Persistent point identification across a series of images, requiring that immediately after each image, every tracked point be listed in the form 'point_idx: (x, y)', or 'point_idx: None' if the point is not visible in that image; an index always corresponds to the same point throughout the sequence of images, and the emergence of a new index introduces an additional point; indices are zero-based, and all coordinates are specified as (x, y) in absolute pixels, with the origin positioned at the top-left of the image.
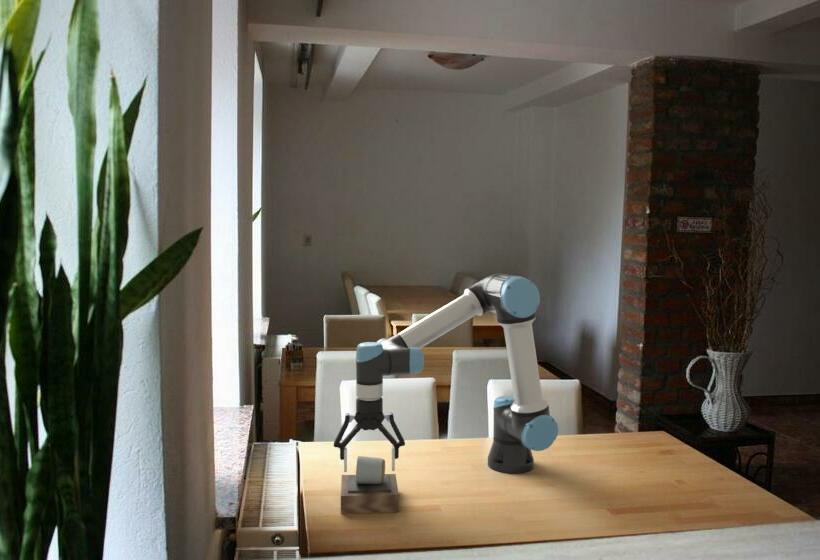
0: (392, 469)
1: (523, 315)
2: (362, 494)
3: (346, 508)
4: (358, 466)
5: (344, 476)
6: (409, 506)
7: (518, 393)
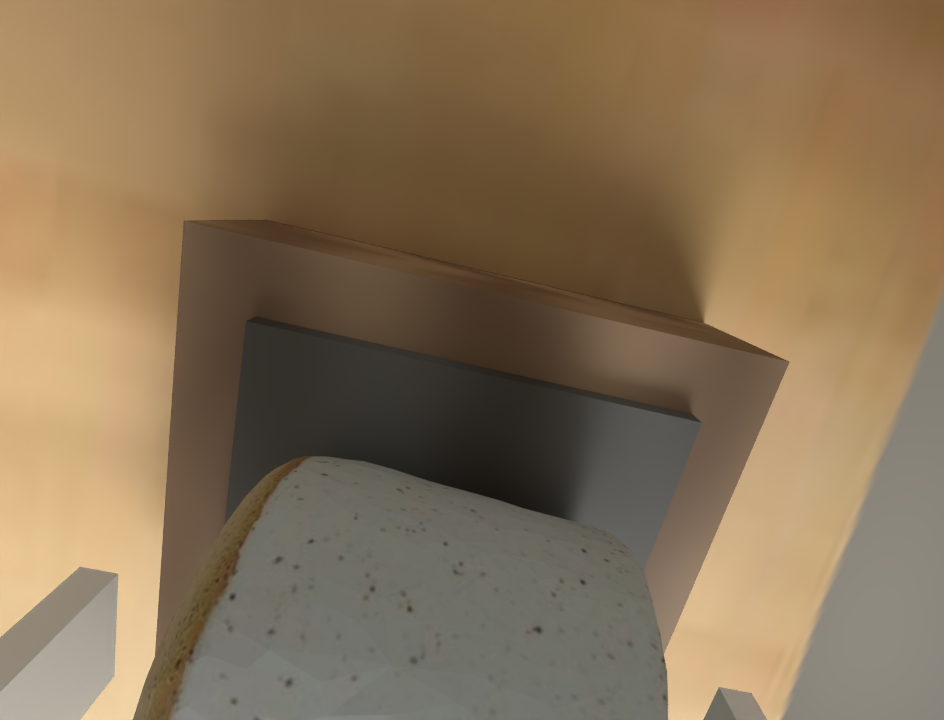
0: (94, 588)
1: None
2: (566, 335)
3: (678, 322)
4: (639, 685)
5: None
6: (164, 303)
7: None
